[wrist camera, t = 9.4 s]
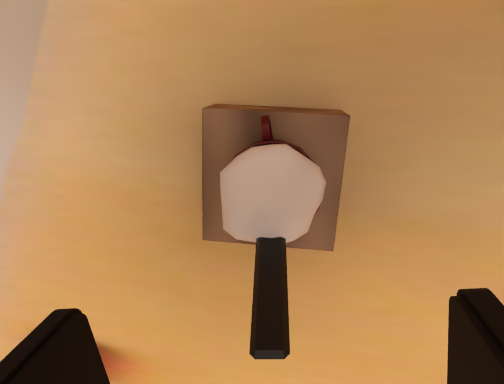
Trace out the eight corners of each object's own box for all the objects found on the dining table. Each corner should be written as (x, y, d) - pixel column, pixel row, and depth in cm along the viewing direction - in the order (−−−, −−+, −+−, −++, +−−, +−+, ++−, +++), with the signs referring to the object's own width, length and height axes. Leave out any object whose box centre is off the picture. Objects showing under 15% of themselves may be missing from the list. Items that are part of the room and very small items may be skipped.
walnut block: (340, 109, 28) (350, 115, 23) (326, 224, 31) (333, 251, 26) (216, 103, 29) (202, 108, 24) (215, 216, 32) (202, 239, 27)
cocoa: (250, 107, 24) (208, 106, 13) (338, 135, 24) (377, 160, 12) (214, 230, 27) (150, 324, 15) (293, 257, 26) (290, 374, 15)
